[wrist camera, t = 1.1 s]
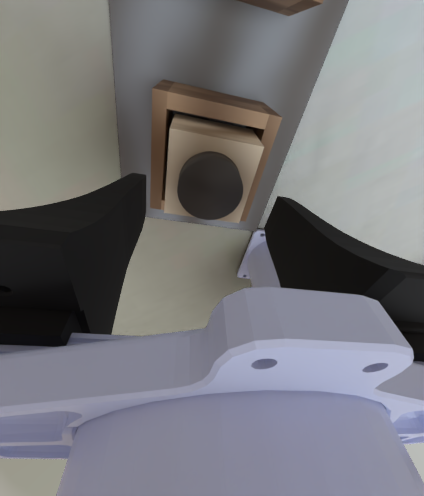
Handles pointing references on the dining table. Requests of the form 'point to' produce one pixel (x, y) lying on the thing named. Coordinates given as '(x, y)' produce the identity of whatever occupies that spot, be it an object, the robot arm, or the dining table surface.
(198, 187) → the plunger
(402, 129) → the dining table surface
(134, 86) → the stand
